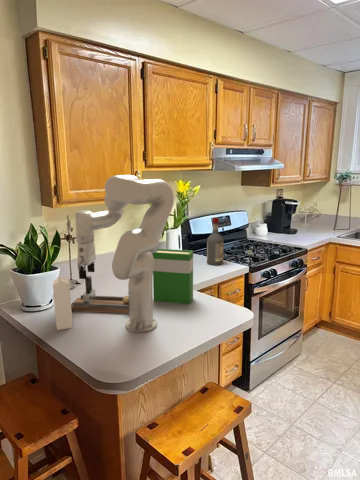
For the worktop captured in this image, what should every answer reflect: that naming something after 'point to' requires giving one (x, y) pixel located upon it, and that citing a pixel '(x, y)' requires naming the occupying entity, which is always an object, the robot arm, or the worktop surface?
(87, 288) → the press jaw
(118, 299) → the press base
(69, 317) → the milk
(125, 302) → the walnut
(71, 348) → the worktop surface
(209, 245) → the liquor
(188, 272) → the hardback book
